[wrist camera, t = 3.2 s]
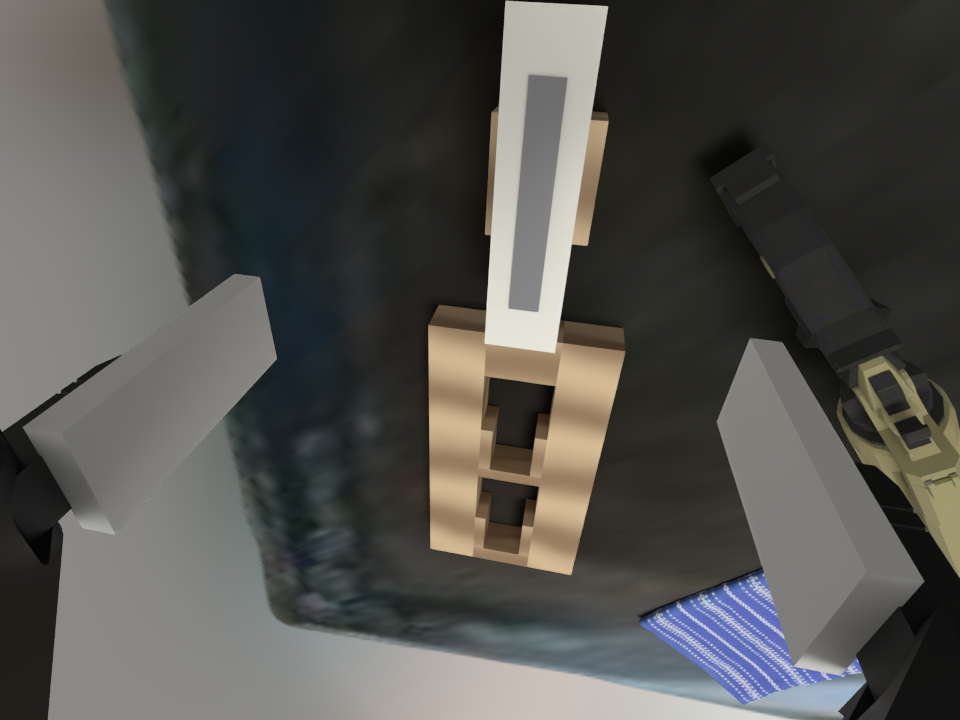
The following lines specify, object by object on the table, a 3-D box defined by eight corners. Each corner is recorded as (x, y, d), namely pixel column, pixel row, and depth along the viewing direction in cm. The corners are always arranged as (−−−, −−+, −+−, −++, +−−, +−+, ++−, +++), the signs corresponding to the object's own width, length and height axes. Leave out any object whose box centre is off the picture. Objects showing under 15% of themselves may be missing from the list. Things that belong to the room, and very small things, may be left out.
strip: (524, 4, 26) (504, 0, 20) (604, 8, 26) (608, 6, 20) (502, 290, 35) (484, 344, 29) (561, 297, 35) (554, 354, 29)
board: (439, 304, 37) (428, 325, 35) (623, 328, 36) (625, 351, 33) (438, 522, 51) (430, 548, 48) (572, 546, 49) (570, 575, 47)
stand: (499, 104, 29) (491, 111, 27) (607, 112, 29) (608, 121, 26) (492, 218, 33) (484, 234, 31) (587, 228, 32) (587, 245, 30)
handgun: (770, 122, 26) (1003, 378, 16) (879, 382, 45) (1020, 582, 34) (689, 175, 28) (846, 434, 18) (825, 403, 47) (942, 598, 36)
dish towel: (981, 623, 46) (1002, 656, 43) (738, 687, 58) (744, 715, 56) (875, 516, 41) (892, 546, 39) (636, 610, 53) (638, 637, 51)
